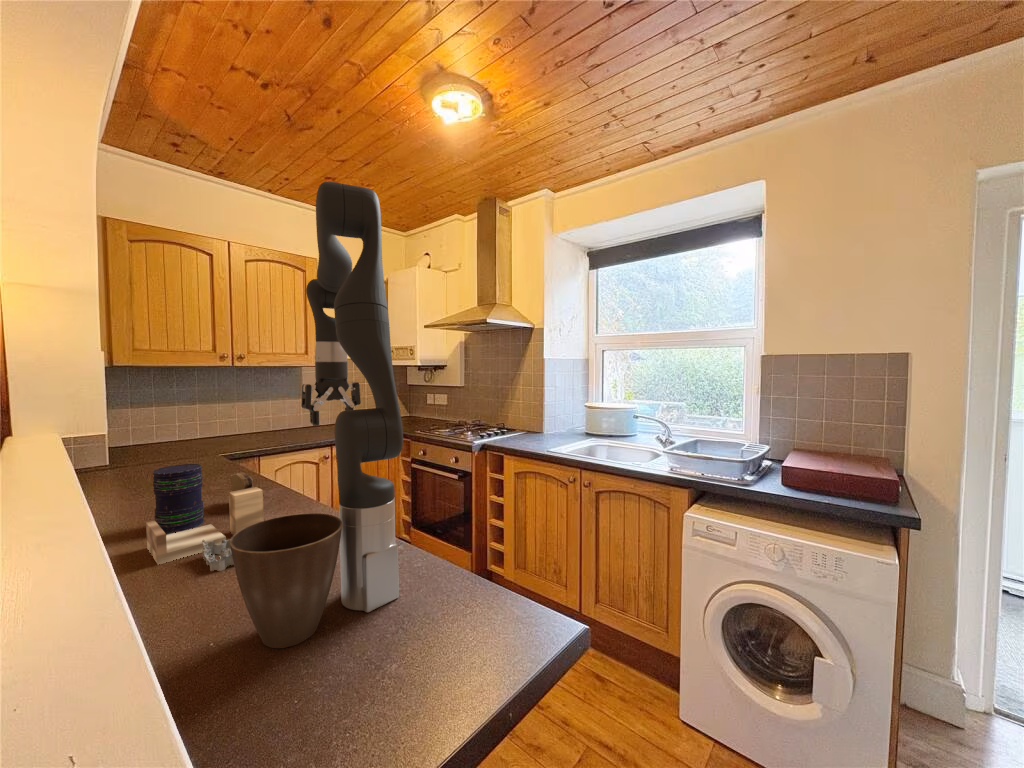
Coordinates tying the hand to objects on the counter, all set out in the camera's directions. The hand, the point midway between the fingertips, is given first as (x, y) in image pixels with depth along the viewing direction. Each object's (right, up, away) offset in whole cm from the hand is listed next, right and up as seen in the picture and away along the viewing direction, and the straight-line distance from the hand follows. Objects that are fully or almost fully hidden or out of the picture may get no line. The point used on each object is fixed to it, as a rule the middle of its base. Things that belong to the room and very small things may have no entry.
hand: (332, 423), depth 106 cm
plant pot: (+12, -28, -42) cm, 52 cm away
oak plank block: (-20, -26, -3) cm, 33 cm away
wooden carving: (-32, -26, +15) cm, 44 cm away
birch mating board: (-28, -27, -12) cm, 40 cm away
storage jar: (-39, -27, +1) cm, 48 cm away
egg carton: (-15, -28, -18) cm, 36 cm away
